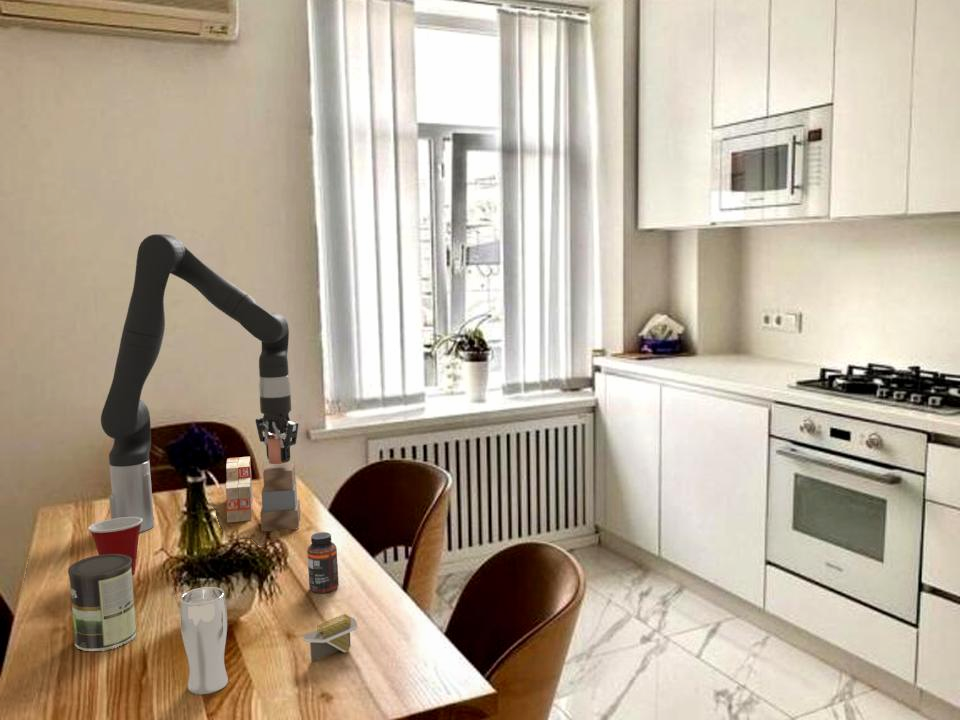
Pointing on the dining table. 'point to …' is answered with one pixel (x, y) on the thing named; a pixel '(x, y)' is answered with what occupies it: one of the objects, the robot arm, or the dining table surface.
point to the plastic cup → (117, 537)
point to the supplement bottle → (322, 563)
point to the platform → (331, 636)
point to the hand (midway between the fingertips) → (278, 460)
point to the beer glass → (204, 638)
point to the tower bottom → (280, 519)
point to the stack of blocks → (238, 489)
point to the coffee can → (102, 602)
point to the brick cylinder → (274, 450)
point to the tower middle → (279, 500)
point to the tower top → (279, 477)
